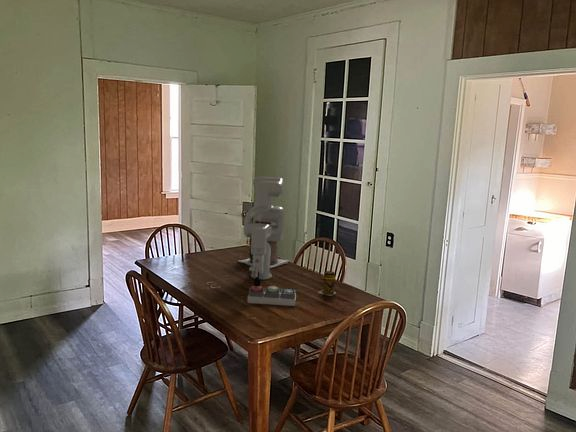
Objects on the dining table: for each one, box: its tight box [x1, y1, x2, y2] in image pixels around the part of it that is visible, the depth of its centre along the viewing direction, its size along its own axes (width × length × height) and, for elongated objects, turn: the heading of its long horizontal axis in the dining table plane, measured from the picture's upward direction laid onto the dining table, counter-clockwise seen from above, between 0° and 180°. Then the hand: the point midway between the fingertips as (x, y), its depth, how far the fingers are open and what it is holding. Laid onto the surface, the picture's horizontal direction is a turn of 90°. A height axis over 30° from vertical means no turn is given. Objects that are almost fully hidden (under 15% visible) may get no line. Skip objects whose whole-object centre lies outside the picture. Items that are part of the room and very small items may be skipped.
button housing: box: [246, 286, 297, 307], centre depth 243 cm, size 24×10×6 cm, turn 88°
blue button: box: [283, 289, 293, 294], centre depth 242 cm, size 5×5×2 cm
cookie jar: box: [237, 219, 289, 269], centre depth 309 cm, size 25×25×32 cm
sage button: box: [267, 285, 279, 293], centre depth 243 cm, size 5×5×2 cm
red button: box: [251, 285, 263, 292], centre depth 243 cm, size 5×5×2 cm
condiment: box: [317, 270, 337, 297], centre depth 259 cm, size 7×8×12 cm
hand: (257, 285), depth 242 cm, fingers closed
